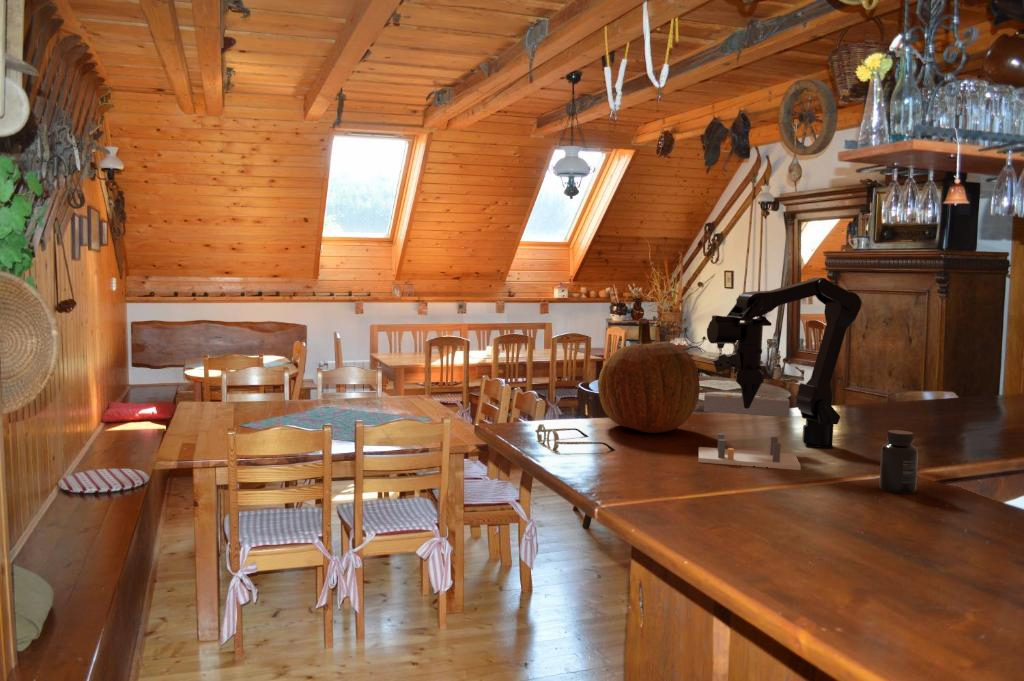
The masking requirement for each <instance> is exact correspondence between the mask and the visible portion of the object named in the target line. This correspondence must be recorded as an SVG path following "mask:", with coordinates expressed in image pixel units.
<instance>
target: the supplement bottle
mask: <svg viewBox="0 0 1024 681" xmlns="http://www.w3.org/2000/svg"><path fill="white" fill-rule="evenodd" d="M886 435H887V437H886V441H887V443H885V444H883V445H882V446H881V449H880V450H881V451H880V467H879V468H880V469H879V483H878V484H879V485H878V486H879V488H880V489H881V490H883V491H884V492H888V493H893V494H901V495H909V494H914V493H915V492H916V491H917V480H918V479H917V478H918V465H919V464H918V462H919V460H918V459H919V451H918V448H917V446H916V447H915V445H913V443H914V442H915V441H914V435H915V434H914V432H911V431H906V430H902V429H901V430H899V429H895V430H894V429H893V430H891V429H890V430H887V434H886Z"/></svg>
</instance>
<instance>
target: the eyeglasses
mask: <svg viewBox="0 0 1024 681" xmlns="http://www.w3.org/2000/svg"><path fill="white" fill-rule="evenodd" d="M560 431H561V432H563V431H576V432H578V433H580V434H581V435H582V436H583V437H585V438H588V437H590V436H589V435H587V434H586V433H584V432H583V431H581V430H580V429H578V428H576V427H573V428H550V429H549V428H548V429H547V428H546V427H545V424H543V423H542V424H539V425H538V426H537V429H535V430H534V432H535V433H536V438H537V442H538V443H541V442H542V443H541V445H543V444H544V445H545V443H546V444H547V447H548V449H550V448H551V446H550V442H551V440H550V433H551V432H552V434H553V439H554V440H553V442H554V443H553V448H552V451H556V450H558V448H559V445H604V446H605V447H607V448H608V449H609V450H610V451H616V449H615V448H614V447H612V446H611V445H609V444H608V443H606V442H602V441H601V442H600V441H595V442H593V441H560V438H559V434H558V432H560ZM541 433H543V435H542V434H541ZM542 437H543V438H542Z"/></svg>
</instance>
